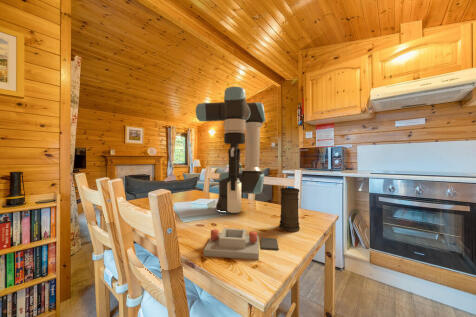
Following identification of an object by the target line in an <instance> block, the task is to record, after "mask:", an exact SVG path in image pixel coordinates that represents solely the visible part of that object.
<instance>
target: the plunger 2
mask: <svg viewBox="0 0 476 317" xmlns="http://www.w3.org/2000/svg"><path fill="white" fill-rule="evenodd" d="M248 234H249V241H250V242H252V243H255V242H257V235H258V232H256V231H250V232H248Z"/></svg>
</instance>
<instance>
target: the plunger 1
mask: <svg viewBox="0 0 476 317" xmlns="http://www.w3.org/2000/svg"><path fill="white" fill-rule="evenodd" d="M219 233H220V232H219V230H218V229H211V230H210V238H211V240H218V235H219Z"/></svg>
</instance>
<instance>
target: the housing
mask: <svg viewBox="0 0 476 317" xmlns="http://www.w3.org/2000/svg"><path fill="white" fill-rule="evenodd" d="M247 230H248V229H247V228H233V227H232V228H227V227H226V228H225V227H224V228H223V229H222V230H221V231H222V232H219V235H218V240H211V237H209V240H208V242H207V244H206V245H205V247H204V249H203V256H205V257H212V258H213V257H215V258H216V257H217V258H228V259H231V258H233V259H243V260H259V259H260V254H259V252H260V244H259V243H260V240H259V239H260V237H259V234H257V242H255V243H252V242H250V241H249V233H248V232H247ZM247 233H248V234H247Z"/></svg>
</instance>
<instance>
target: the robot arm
mask: <svg viewBox="0 0 476 317" xmlns="http://www.w3.org/2000/svg"><path fill="white" fill-rule="evenodd" d="M223 95H224V96H223V101H222V102H202V103H197V104H196V107H195V116H196V118H197V120H198V121H199V122H205V123H206V122H224V123H222V126H223V127H224V128H223V129H224V130H223V132H225V133H224V134H223V135H224V136H223V143H224V144H226V145H229V148H228V151H227V153H228V171H222V172H220V173H219V177H218V199H217V202H216V205H215V210H216V209H217V210H220V211H226V212H228V211H227V183H228V182H229V200H237V180H240V183H241V194H252V195H259V194H261V193H262V191H263V189H264V188H263V187H264V180H265V174H264V173H263V170H262V169H261V168H260V155H261V154H260V153H261V152H260V148H261V128H262V127H263V125H264V124H263V123H265V122H266V113H265V108H264V106H265V105H264V104H263V103H262V102H257V101H255V102H247V96H246V89H245V88H243V87H241V86H229V87H227V88H225V89H224V94H223ZM243 144H245V146H244V150H245V152H244V167H243V169H241V173H240V161H241V153H242V152H241V151H242V150H241V149H240V147H239V145H243ZM227 214H232V213H231V212H228V213H227Z"/></svg>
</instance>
